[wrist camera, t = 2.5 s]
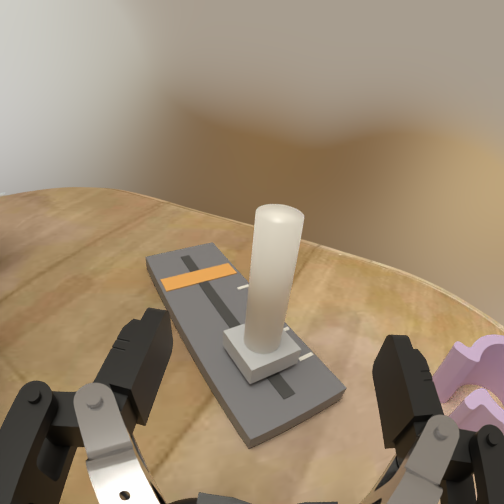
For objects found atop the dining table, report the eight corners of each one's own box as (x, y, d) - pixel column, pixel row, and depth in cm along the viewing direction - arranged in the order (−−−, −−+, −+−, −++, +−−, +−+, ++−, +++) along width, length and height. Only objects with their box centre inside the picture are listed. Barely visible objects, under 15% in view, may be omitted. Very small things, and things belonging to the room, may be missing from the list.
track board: (146, 269, 42) (145, 256, 41) (212, 254, 47) (212, 241, 46) (248, 448, 22) (250, 439, 21) (340, 399, 27) (347, 387, 26)
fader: (222, 345, 29) (228, 204, 21) (267, 329, 31) (288, 195, 24) (249, 384, 25) (269, 237, 18) (297, 363, 27) (333, 224, 20)
